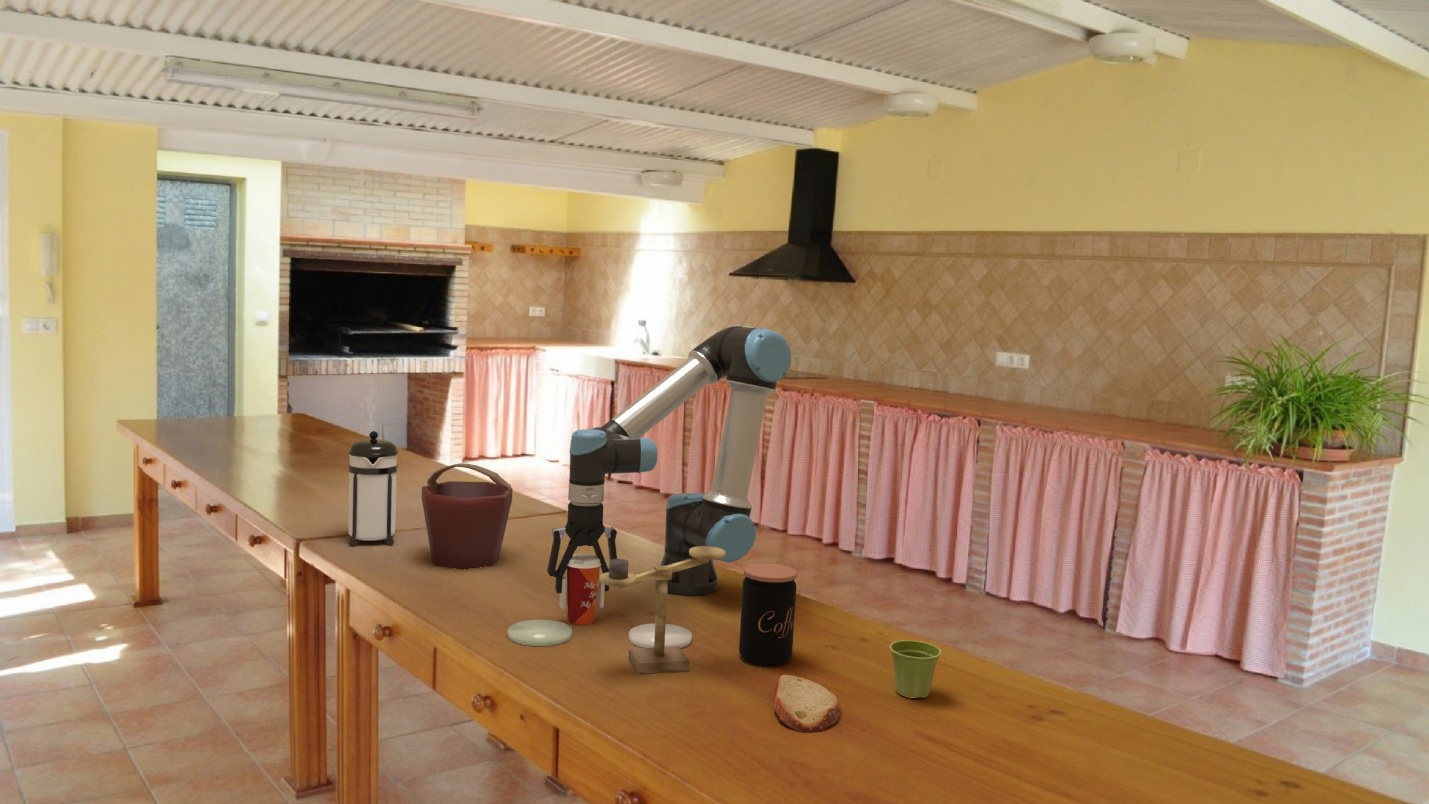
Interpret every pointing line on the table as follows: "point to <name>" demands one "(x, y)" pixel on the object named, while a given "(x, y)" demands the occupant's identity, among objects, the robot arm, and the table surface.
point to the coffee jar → (767, 614)
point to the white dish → (673, 636)
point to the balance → (658, 608)
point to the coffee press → (372, 490)
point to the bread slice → (805, 704)
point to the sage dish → (539, 632)
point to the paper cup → (582, 588)
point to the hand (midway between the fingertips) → (581, 606)
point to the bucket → (466, 519)
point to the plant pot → (914, 666)
